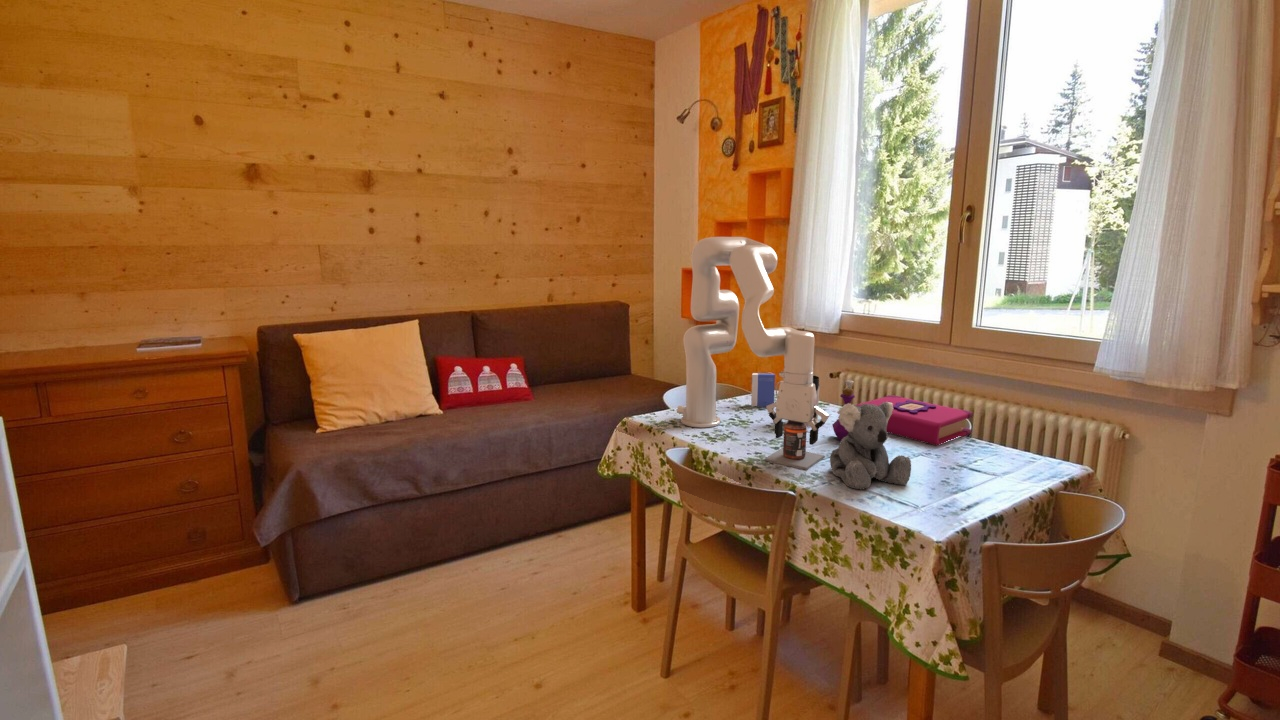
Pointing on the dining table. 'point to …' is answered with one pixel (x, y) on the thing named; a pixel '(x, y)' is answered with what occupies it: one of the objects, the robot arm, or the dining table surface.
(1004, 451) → the dining table surface
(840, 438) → the perfume bottle
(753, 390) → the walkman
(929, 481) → the dining table surface
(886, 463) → the koala plush
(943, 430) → the book
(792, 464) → the grey mat
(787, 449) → the supplement bottle
